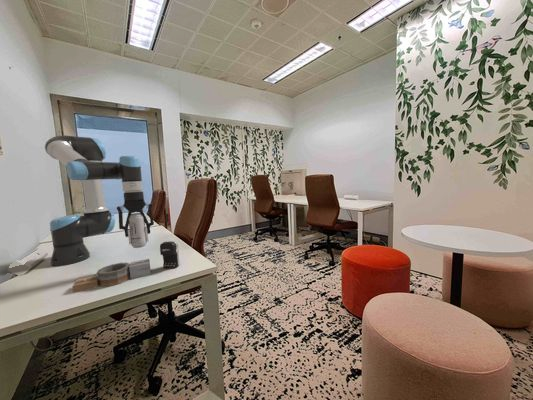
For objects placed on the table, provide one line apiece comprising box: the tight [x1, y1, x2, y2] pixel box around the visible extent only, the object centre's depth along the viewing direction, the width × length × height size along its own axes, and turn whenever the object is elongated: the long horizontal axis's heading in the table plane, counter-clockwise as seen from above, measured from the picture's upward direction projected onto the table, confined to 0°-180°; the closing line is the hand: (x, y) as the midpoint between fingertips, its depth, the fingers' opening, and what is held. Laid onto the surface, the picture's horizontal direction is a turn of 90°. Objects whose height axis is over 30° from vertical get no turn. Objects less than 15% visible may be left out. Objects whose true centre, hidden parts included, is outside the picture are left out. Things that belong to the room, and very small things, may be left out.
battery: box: [159, 240, 180, 269], centre depth 94 cm, size 7×4×11 cm, turn 81°
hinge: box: [72, 258, 152, 294], centre depth 85 cm, size 10×24×5 cm, turn 119°
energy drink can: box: [128, 212, 148, 249], centre depth 98 cm, size 6×6×15 cm
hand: (139, 242), depth 99 cm, fingers closed on energy drink can, 6 cm apart
